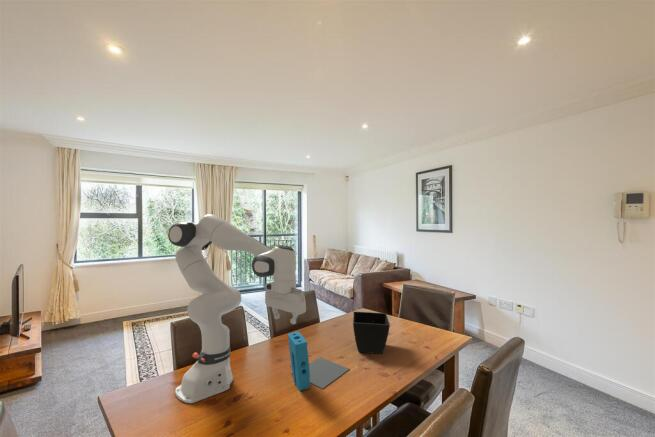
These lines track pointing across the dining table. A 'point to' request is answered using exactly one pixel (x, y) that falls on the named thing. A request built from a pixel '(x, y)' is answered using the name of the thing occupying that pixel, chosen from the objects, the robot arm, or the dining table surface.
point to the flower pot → (370, 331)
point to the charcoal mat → (325, 372)
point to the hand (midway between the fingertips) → (284, 320)
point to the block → (299, 360)
